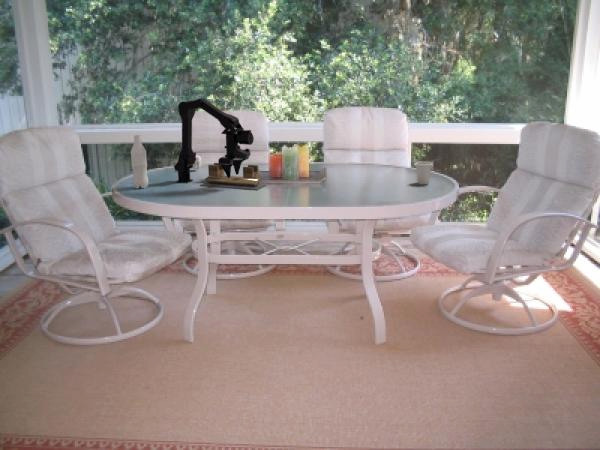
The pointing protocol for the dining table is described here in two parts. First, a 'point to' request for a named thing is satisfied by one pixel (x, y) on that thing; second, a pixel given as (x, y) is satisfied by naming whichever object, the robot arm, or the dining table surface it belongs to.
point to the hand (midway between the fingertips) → (233, 176)
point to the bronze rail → (233, 181)
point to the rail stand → (248, 173)
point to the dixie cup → (423, 172)
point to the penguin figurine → (197, 163)
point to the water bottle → (139, 163)
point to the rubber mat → (234, 186)
